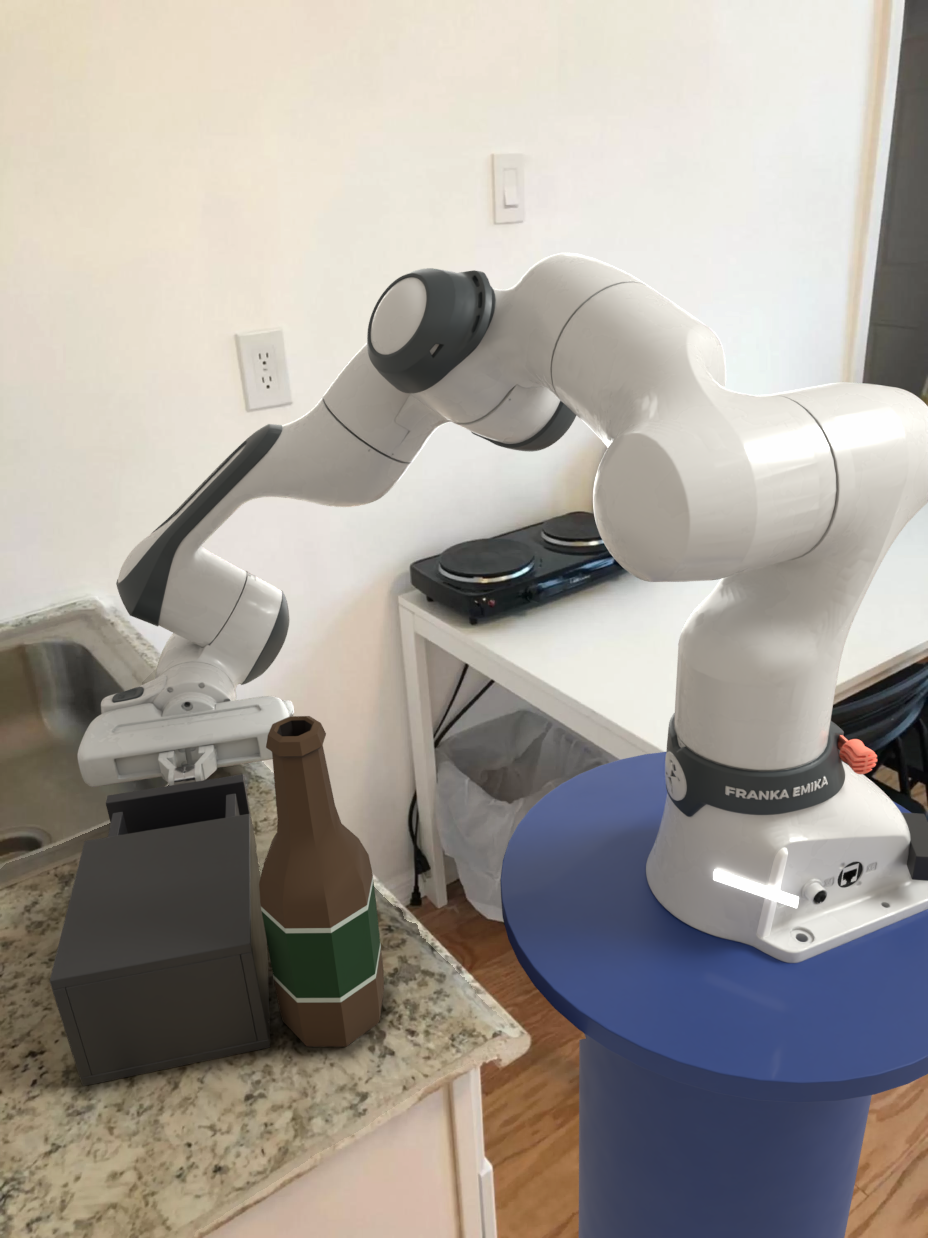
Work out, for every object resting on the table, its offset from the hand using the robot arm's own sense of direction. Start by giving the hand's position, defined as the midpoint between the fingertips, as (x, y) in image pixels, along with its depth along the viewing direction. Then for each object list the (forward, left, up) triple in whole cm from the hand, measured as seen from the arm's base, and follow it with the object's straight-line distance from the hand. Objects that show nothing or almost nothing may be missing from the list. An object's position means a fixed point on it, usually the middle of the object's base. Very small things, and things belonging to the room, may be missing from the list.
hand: (185, 785), depth 85 cm
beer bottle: (-11, +24, -6) cm, 27 cm away
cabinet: (0, +19, -6) cm, 20 cm away
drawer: (0, +9, -5) cm, 10 cm away
